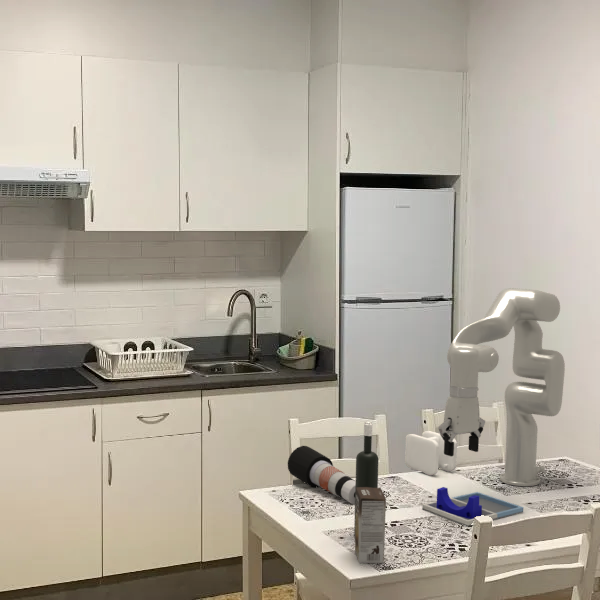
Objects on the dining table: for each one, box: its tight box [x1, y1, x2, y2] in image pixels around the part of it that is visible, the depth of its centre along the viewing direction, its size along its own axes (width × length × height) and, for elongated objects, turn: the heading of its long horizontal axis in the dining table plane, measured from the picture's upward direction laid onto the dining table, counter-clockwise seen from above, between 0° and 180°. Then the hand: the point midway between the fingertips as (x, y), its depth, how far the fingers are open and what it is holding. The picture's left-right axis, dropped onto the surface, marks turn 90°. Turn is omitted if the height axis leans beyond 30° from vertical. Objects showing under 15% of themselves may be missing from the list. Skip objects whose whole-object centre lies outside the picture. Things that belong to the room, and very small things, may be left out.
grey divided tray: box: [421, 491, 524, 527], centre depth 271 cm, size 22×18×2 cm
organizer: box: [404, 430, 458, 476], centre depth 313 cm, size 15×11×12 cm
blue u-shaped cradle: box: [436, 486, 482, 519], centre depth 268 cm, size 12×4×6 cm, turn 47°
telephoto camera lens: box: [287, 445, 356, 505], centre depth 285 cm, size 10×34×10 cm, turn 34°
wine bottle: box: [353, 421, 379, 537], centre depth 248 cm, size 6×6×30 cm
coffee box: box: [354, 487, 387, 564], centre depth 233 cm, size 9×6×16 cm
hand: (461, 453), depth 266 cm, fingers open, 9 cm apart
